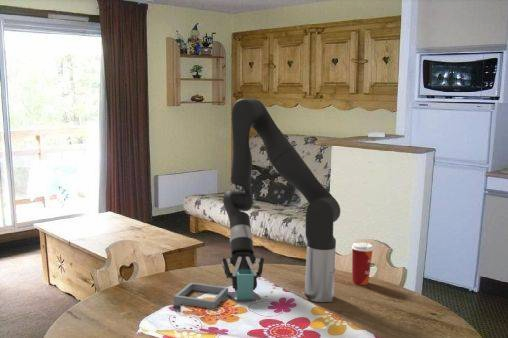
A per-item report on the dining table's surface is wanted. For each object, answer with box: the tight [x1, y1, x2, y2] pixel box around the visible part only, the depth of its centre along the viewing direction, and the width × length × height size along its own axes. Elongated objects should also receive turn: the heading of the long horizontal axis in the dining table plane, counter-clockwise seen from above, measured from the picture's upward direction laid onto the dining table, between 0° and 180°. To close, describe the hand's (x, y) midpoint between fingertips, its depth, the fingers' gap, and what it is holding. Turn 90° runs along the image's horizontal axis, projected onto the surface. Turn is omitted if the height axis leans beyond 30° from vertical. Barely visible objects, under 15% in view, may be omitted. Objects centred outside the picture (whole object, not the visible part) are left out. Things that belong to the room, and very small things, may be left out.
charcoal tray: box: [173, 282, 229, 310], centre depth 158 cm, size 13×13×4 cm
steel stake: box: [227, 291, 261, 304], centre depth 160 cm, size 10×10×6 cm
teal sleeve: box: [234, 270, 254, 300], centre depth 160 cm, size 5×5×8 cm
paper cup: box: [351, 241, 374, 286], centre depth 181 cm, size 8×8×14 cm
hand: (245, 288), depth 158 cm, fingers closed on teal sleeve, 5 cm apart
